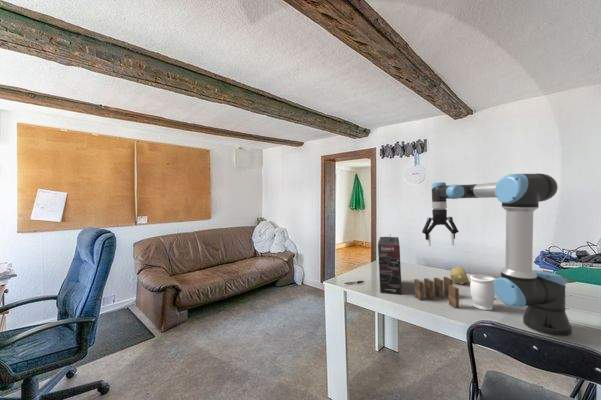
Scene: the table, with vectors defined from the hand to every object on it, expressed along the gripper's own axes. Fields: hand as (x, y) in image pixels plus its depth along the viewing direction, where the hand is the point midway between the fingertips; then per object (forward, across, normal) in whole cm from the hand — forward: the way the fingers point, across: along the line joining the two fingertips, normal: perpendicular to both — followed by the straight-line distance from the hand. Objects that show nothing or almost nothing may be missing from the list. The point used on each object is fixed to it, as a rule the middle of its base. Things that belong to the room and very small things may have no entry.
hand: (440, 245), depth 158 cm
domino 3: (+27, +6, +8) cm, 29 cm away
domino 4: (+27, 0, +7) cm, 28 cm away
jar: (+28, -9, +23) cm, 37 cm away
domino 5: (+27, +5, +21) cm, 35 cm away
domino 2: (+27, +12, +9) cm, 31 cm away
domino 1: (+27, +18, +10) cm, 34 cm away
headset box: (+27, +27, -10) cm, 40 cm away
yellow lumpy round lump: (+27, -18, -13) cm, 35 cm away
